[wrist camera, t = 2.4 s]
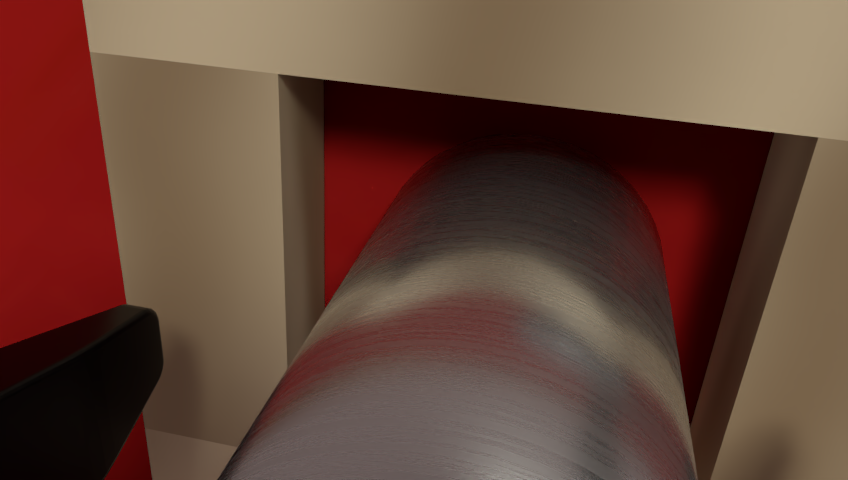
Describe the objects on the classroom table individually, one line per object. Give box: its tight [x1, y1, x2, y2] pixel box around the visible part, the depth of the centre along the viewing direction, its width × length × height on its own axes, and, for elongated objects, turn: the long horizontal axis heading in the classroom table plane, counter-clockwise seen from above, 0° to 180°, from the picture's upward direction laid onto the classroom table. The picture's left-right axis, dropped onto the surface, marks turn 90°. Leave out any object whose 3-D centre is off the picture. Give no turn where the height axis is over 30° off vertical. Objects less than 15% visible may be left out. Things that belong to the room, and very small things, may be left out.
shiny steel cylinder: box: [217, 134, 698, 480], centre depth 9 cm, size 5×5×8 cm
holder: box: [82, 0, 848, 480], centre depth 11 cm, size 12×12×2 cm
